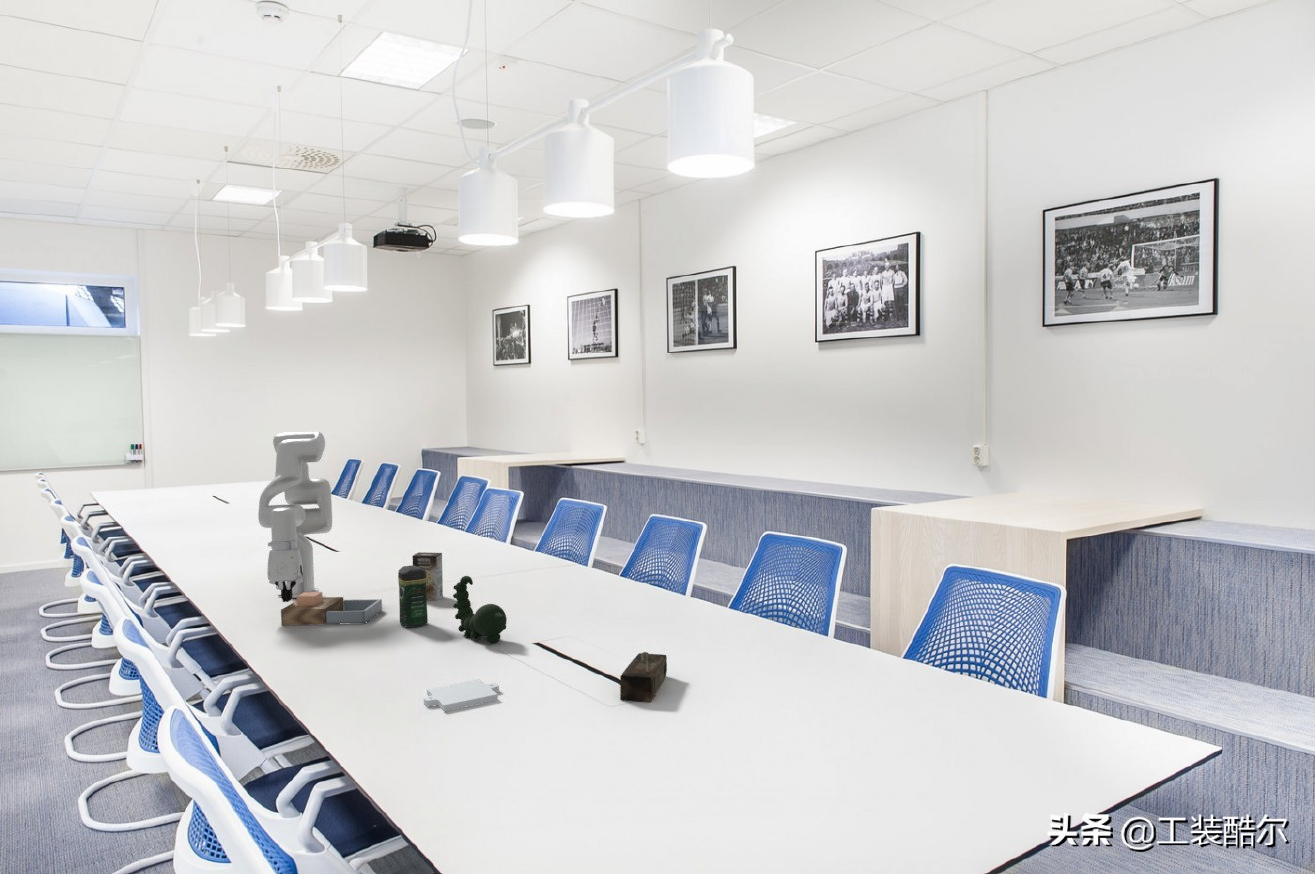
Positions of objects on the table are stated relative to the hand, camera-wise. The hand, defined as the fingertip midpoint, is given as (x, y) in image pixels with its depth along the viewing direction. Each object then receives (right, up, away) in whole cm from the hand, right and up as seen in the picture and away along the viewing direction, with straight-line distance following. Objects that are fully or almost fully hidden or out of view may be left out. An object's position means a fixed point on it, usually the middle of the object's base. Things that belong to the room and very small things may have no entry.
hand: (287, 600), depth 283 cm
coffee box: (+40, -4, +25) cm, 47 cm away
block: (+7, -1, 0) cm, 8 cm away
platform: (+9, -6, 0) cm, 10 cm away
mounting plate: (+75, -9, -77) cm, 108 cm away
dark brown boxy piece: (+118, -8, -73) cm, 139 cm away
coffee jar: (+45, -6, -10) cm, 46 cm away
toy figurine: (+69, -6, -27) cm, 75 cm away
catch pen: (+22, -6, 0) cm, 23 cm away
